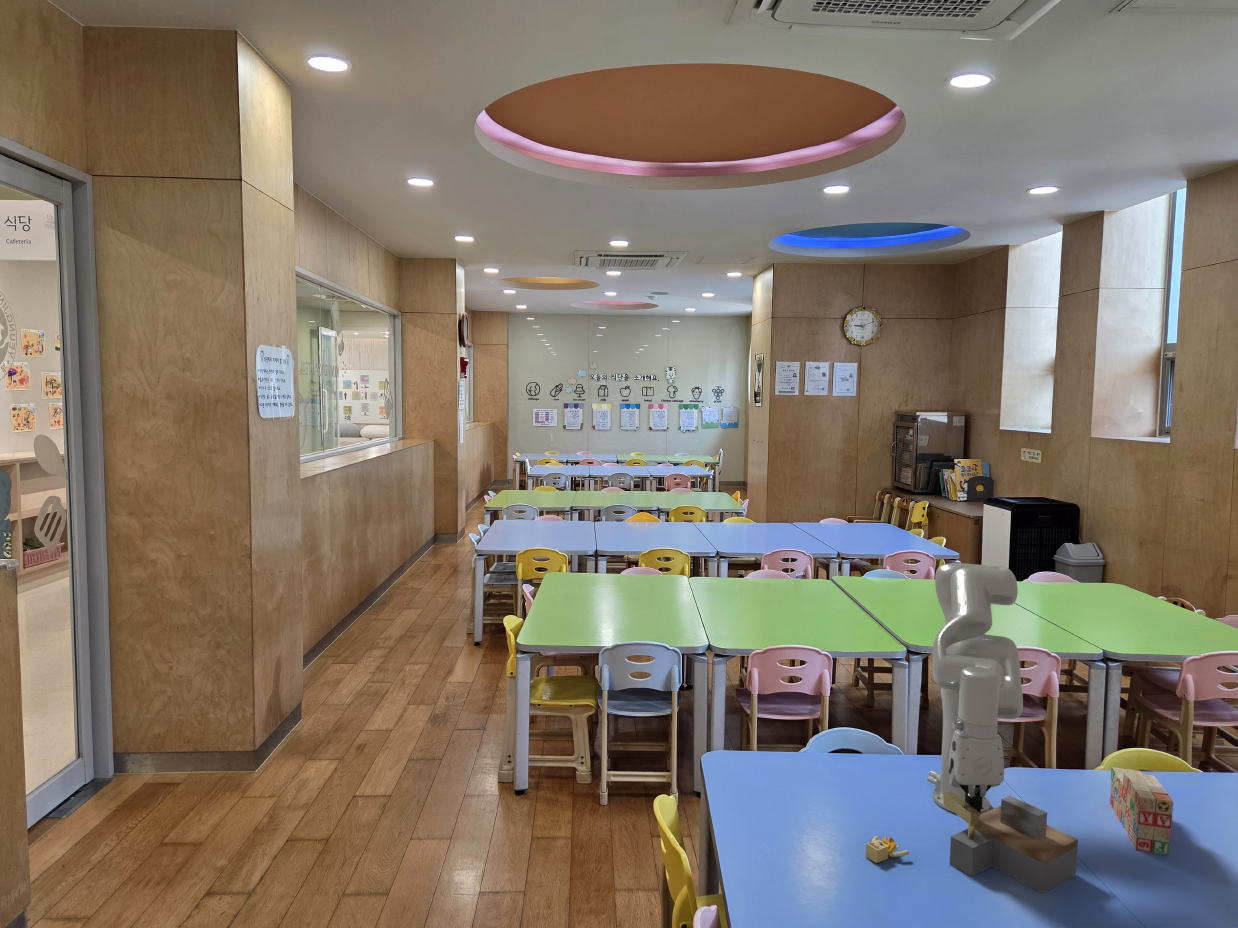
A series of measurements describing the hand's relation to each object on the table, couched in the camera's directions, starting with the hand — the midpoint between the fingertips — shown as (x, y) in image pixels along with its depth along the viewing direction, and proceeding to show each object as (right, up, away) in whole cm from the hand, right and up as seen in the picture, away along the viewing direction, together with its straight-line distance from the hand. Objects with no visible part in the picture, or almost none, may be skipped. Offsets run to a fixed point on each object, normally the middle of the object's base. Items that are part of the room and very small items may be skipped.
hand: (972, 812), depth 166 cm
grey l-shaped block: (+6, -10, -4) cm, 12 cm away
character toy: (-18, -10, -1) cm, 20 cm away
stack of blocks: (+43, -9, +12) cm, 46 cm away
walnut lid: (+9, -4, -3) cm, 10 cm away
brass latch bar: (-3, -3, -1) cm, 4 cm away
